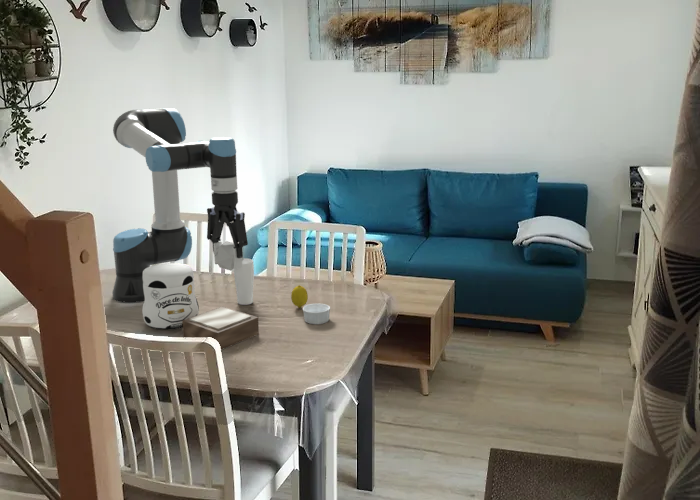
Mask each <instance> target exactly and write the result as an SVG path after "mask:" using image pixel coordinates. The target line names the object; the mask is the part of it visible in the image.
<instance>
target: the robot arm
mask: <svg viewBox="0 0 700 500" xmlns="http://www.w3.org/2000/svg"><path fill="white" fill-rule="evenodd" d="M113 123H114V124H113V128H112V131H113V132H112V133H113V136H114V138H115V140H116V141H117V142H118V144H120V146H123V147H125V148H127V149H133V150H134V151H135V152H137V153H139V154H140V155H141V156H142V157H144V158H145V162H146V166H147V167H148V170H150V172H151V178H152V191H153V192H152V193H153V204H154V205H153V206H154V218H155V219H154V222H153V223H152V224H151V226H150V228H151V231H147V229H145V228H140V227H139V228H130V229H127V230H124V231H121V232H119V233H117V234H115V236H114V237H113V239H112V243H113V244H112V245H113V246H112V247H113V248H112V251H113V256H114V266H115V279H114V280H115V281H114V284H113V285H114V286H113V289H112V299H113V300H114V301H115V302H118V303H123V304H124V303H125V304H131V303H132V304H133V303H142V302H144V290H143V271H144V270H145V269H146V268H148V267H150V266H154V265H158V264H165V263H172V262H178V261H181V260H186V259H187V258H188V257H189V256H190V254H191V251H192V249H193V248H192V247H193V239H192V238H193V237H192V232H191V230H190V229H189V227H187V226H186V225H185V222H183V220H181V214H180V213H181V211H180V196H179V195H180V194H179V177H178V171H179V170H180V171H181V170H189V169H201V168H209V170H210V183H211V184H210V185H211V191H212V192H211V203H212V205H213V207H212V206H211V207H208V208H207V209H206V212H207V213H206V214H207V227H206V228H207V233H206V239H207V240H209V241H211V243H212V252H213V253H214V251H215V250H216V249H217V248H218V247H219V246H221V245H222V244H223V242H222V238H221V237H222V233H223V229H224V225H225V224H226V227H228V229H229V232H230V236H231V238H232V241H233V242H232V243H234V245H235V247H233V255H234V269H238V268H241V267H242V257H243V256H244V253H243V251H244V250H243V247H245V246H248V244H249V242H248V237H247V236H248V235H247V230H246V222H245V216H246V213H245V212H243V211H242V212H240V211H238V209H237V204H238V203H239V199H238V198H239V196H238V195H239V194H238V191H237V190H238V175H237V149H236V141H235V139H234V138H232V137H226V136H221V137H220V136H219V137H218V136H217V137H211V138H210V139H209V140H208V139H207V140H198V141H196V142H187V143H183V142H184V141H185V140H186V136H187V130H186V124H185V122H184V119H183V117H182V114H181V113H180V111H178V110H177V109H176V108H173V107H172V108H170V107H169V108H168V107H167V108H165V107H159V108H149V109H147V108H144V109H132V110H128V111H126V112H124V113H122V114H120V116H119V117H117V118H116V120H115V121H114V122H113ZM243 258H244V257H243ZM213 259H214V260H213V261H214V265H218V264H217V262H216V259H215V256H213ZM234 269H233V270H234Z"/></svg>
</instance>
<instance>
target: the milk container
mask: <svg viewBox="0 0 700 500" xmlns="http://www.w3.org/2000/svg"><path fill="white" fill-rule="evenodd" d="M194 275H195V274H194V269H193V267H192V266H191V265H189V264H186V263H178V262H166V263H160V264H154V265H150V267H148V268H146V269H145V270H144V271H143V290H144V301H143V303H142V308H141V309H142V311H141V312H142V318H143V321H144V323H145V325H147V326H148V327H150V328H151V329H155V330H162V331H167V330H168V331H169V330H173V331H174V330H178V329H183V323H182V321H183V320H185V319H188V318H191V317H194V316H197V315H199V313H200V309H199V307H200V306H199V302H198V299H197V296H196V291H195V279H194V278H195V276H194Z"/></svg>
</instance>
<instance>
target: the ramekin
mask: <svg viewBox="0 0 700 500" xmlns="http://www.w3.org/2000/svg"><path fill="white" fill-rule="evenodd" d="M302 311H303V319H304V322H305V323H307V324H310V325H322V324H325V323H328V322H329V320H330V312H331V306H330V305H328V304H326V303H319V302H317V303H308V304H305V305H304V306H302Z"/></svg>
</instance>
